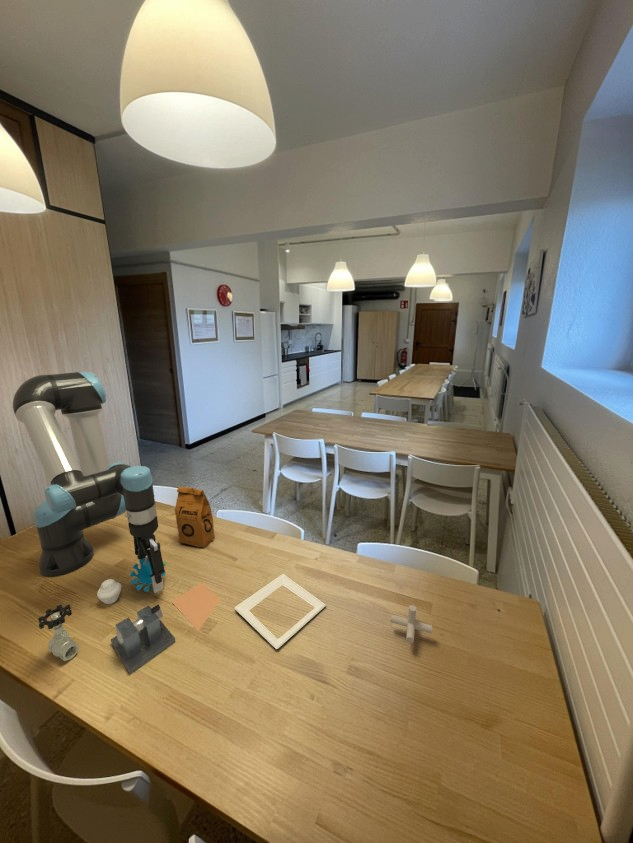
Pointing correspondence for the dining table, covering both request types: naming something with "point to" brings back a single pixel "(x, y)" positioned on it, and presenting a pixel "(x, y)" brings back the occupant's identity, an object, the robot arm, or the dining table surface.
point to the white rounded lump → (109, 591)
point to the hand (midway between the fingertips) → (152, 582)
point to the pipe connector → (411, 624)
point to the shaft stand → (141, 638)
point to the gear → (143, 575)
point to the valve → (59, 633)
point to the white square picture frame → (267, 590)
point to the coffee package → (194, 517)
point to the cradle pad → (197, 604)
